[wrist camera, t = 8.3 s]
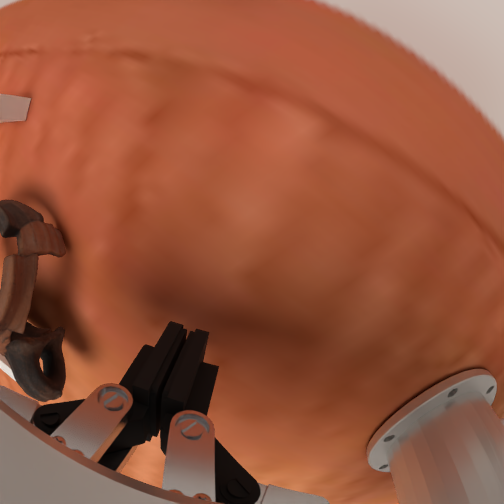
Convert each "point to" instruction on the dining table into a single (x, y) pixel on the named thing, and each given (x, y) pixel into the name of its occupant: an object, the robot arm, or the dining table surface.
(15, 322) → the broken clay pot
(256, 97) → the dining table surface
